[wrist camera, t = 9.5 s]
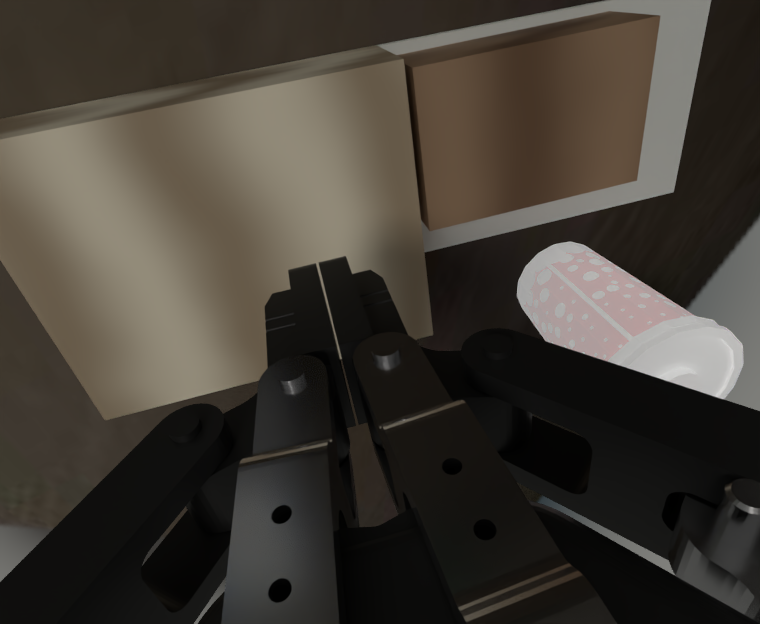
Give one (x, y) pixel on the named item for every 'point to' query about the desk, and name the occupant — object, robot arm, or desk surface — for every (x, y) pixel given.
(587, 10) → the mat
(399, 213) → the tan flat block
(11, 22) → the desk surface
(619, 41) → the walnut tile
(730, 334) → the beverage cup
